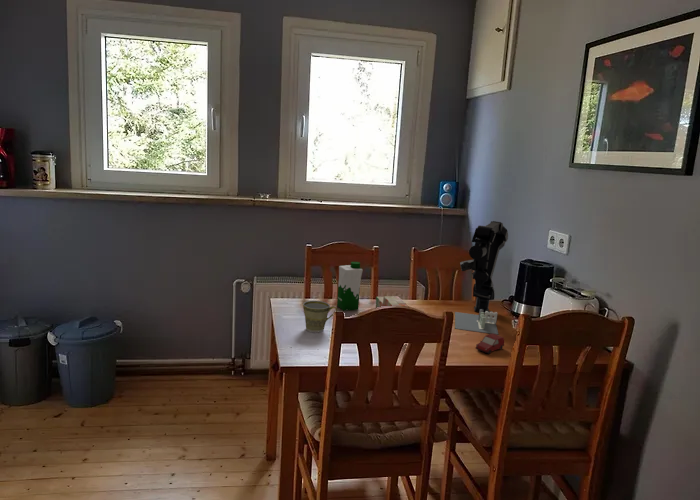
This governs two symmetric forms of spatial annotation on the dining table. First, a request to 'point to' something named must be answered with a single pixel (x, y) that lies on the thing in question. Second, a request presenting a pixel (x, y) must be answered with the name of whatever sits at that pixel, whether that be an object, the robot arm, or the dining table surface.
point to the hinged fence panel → (482, 319)
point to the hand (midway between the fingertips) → (477, 291)
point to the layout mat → (473, 323)
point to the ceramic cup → (316, 315)
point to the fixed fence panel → (489, 317)
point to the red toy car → (490, 343)
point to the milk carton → (349, 286)
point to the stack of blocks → (389, 301)
